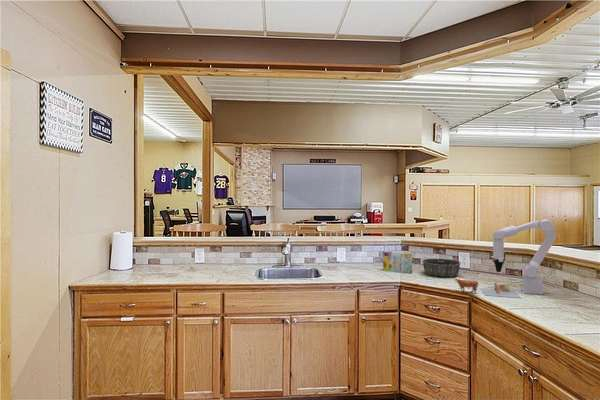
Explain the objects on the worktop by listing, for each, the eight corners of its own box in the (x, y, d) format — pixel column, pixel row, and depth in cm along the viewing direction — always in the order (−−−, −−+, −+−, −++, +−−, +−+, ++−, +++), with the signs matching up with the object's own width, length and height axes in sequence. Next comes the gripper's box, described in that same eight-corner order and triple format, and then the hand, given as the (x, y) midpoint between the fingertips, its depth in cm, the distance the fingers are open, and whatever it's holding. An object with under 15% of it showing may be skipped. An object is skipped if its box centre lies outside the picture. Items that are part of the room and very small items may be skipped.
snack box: (412, 272, 274) (412, 252, 274) (410, 273, 269) (410, 253, 269) (385, 269, 285) (385, 250, 285) (382, 270, 280) (382, 251, 280)
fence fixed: (508, 291, 214) (508, 283, 214) (509, 292, 213) (509, 284, 213) (494, 290, 217) (494, 282, 217) (495, 291, 216) (494, 283, 216)
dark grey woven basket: (461, 280, 247) (461, 265, 247) (421, 277, 257) (421, 263, 257) (460, 272, 272) (460, 259, 272) (423, 270, 282) (423, 257, 282)
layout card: (514, 291, 217) (514, 290, 217) (521, 298, 201) (521, 297, 201) (480, 289, 222) (480, 288, 222) (485, 295, 207) (485, 295, 207)
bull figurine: (455, 289, 222) (455, 276, 222) (479, 293, 213) (478, 279, 213) (452, 290, 218) (452, 277, 218) (477, 294, 210) (476, 280, 210)
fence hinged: (495, 290, 215) (495, 284, 215) (497, 290, 215) (497, 284, 215) (497, 293, 209) (497, 286, 209) (499, 293, 209) (499, 286, 209)
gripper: (489, 247, 231) (489, 269, 231) (493, 251, 217) (493, 273, 217) (501, 248, 229) (501, 269, 229) (506, 251, 215) (506, 274, 215)
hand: (498, 271), depth 223 cm, fingers closed
